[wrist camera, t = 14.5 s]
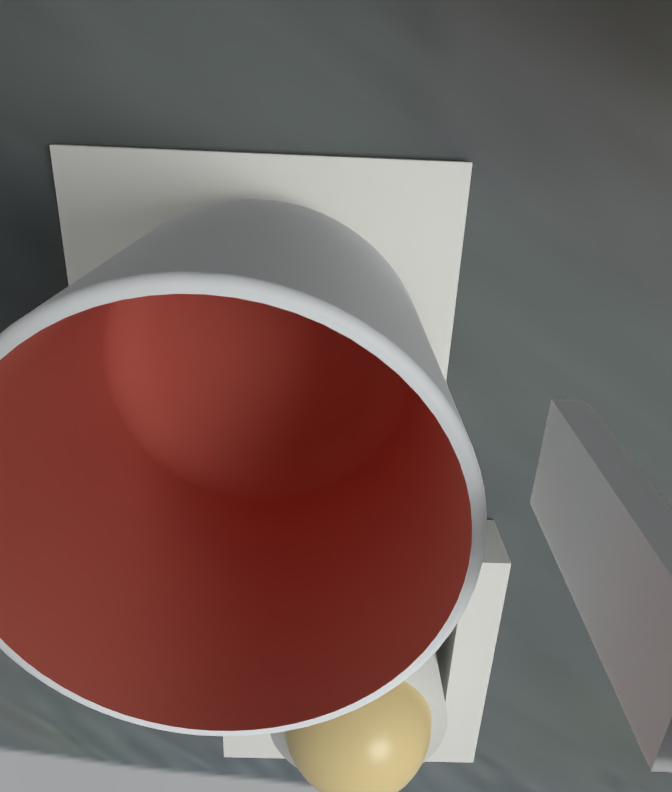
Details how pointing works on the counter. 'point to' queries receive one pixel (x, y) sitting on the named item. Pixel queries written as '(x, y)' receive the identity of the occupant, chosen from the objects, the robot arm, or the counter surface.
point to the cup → (232, 479)
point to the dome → (373, 738)
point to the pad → (281, 181)
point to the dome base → (446, 665)
